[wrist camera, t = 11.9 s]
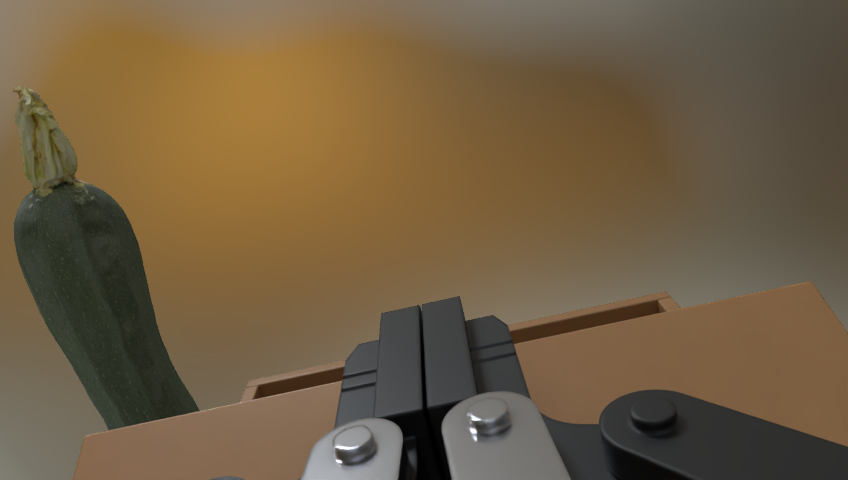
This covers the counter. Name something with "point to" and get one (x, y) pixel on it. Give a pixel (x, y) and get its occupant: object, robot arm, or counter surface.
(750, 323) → the flap
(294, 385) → the carton
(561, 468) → the robot arm
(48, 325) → the vegetable
